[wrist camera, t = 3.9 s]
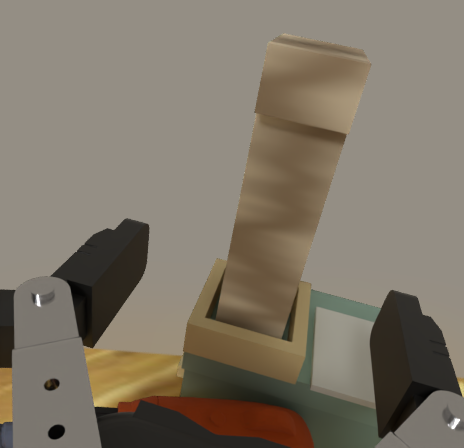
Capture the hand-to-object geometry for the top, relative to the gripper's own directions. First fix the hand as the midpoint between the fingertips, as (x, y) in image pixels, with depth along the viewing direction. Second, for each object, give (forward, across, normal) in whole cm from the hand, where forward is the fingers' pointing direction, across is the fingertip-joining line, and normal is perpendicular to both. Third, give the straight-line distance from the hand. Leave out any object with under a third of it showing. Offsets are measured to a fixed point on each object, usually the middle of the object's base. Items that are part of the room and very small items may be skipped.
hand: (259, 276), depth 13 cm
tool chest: (+8, -3, +22) cm, 24 cm away
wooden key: (+6, 0, +8) cm, 11 cm away
